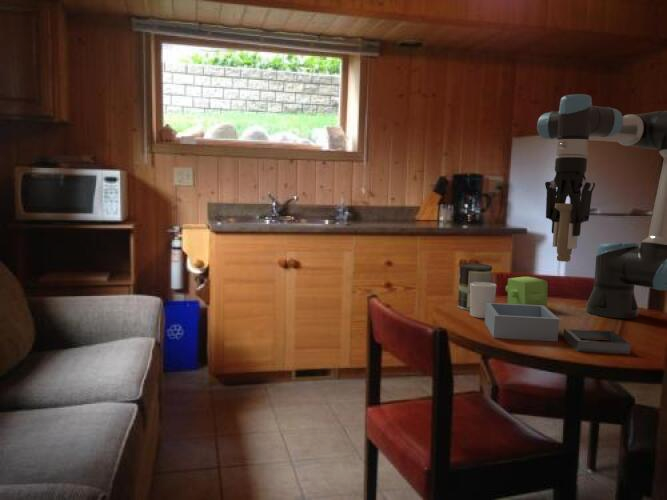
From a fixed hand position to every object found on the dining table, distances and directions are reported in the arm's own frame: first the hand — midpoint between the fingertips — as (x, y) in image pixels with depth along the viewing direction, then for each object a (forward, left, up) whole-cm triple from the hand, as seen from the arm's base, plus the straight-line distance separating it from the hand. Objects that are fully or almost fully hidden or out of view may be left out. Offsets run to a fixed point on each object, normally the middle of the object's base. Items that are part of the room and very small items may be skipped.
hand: (564, 247), depth 148 cm
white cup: (+17, -22, -25) cm, 37 cm away
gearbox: (+1, -40, -25) cm, 47 cm away
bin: (+9, -5, -25) cm, 27 cm away
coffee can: (+18, -33, -25) cm, 45 cm away
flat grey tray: (-8, +5, -25) cm, 26 cm away
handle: (0, 0, -4) cm, 4 cm away
